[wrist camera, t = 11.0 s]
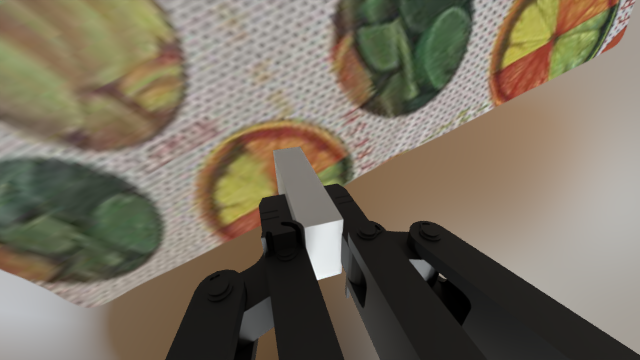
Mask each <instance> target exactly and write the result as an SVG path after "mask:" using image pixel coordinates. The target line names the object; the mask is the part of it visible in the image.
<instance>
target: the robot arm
mask: <svg viewBox="0 0 640 360" xmlns="http://www.w3.org/2000/svg"><path fill="white" fill-rule="evenodd" d="M273 154H274V161H275V169H276V176H277V184H278V191H279V195H276V196H270V197H265V198H262V200H261V202H260V204H259V211H260V218H261V226H262V236H261V240H262V245H263V250H264V252H263V255H262V257H261V258H260V260H259V261H258V262H257V263H256V264H254V265H253V266H251V267H250V268H248V269H246V270H245V271H243V272H241V273H238V272H236V271H235V270H222V271H217V272H215V273H213V274H211V275H209V276H208V277H206V278H205V279H204V280H203V281H202V282H201V283H200V284H199V286H198V287H197V289H196V290H195V292H194V294H193V297H192V299H191V302H190V304H189V306H188V308H187V310H186V313H185V315H184V317H183V320H182V322H181V324H180V327H179V329H178V331H177V334H176V336H175V338H174V341H173V343H172V345H171V347H170V350H169V352H168V354H167V357H166V359H165V360H255V358H256V351H257V345H258V338H259V337H260V336H262V335H263V334H264V333H266V332H267V331H269V330H270V329H271V328H273V327H275V334H276V342H277V349H278V356H279V360H344V357H343V354H342V351H341V349H340V346H339V343H338V340H337V337H336V334H335V331H334V328H333V325H332V322H331V319H330V316H329V313H328V310H327V308H326V304H325V302H324V299H323V296H322V293H321V290H320V287H319V284H318V281H317V280H319V279H322V278H326V277H330V276H333V275H337V274H341V268H342V265H343V268H344V270H345V272H346V288H345V294H346V298H349V292H350V293H351V296H352V298H353V300H354V302H355V305H356V307H357V309H358V311H359V313H360V316H361V318H362V320H363V322H364V324H365V327H366V329H367V331H368V333H369V336H370V338H371V340H372V342H373V345H374V347H375V349H376V351H377V354H378V356H379V358H380V360H640V355H639V354H637V353H636V352H634V351H633V350H631V349H630V348H628V347H627V346H625V345H623V344H622V343H620V342H619V341H617V340H616V339H614V338H613V337H611V336H610V335H608V334H607V333H605V332H603V331H602V330H600V329H599V328H597V327H596V326H594V325H593V324H591V323H589V322H588V321H587V320H585V319H583V318H582V317H580V316H579V315H577V314H576V313H574V312H573V311H571V310H570V309H568V308H567V307H565V306H563V305H562V304H560V303H559V302H557V301H556V300H554V299H553V298H551V297H550V296H548V295H546V294H545V293H543V292H542V291H540V290H539V289H537V288H535V287H534V286H533V285H531V284H530V283H528V282H526V281H525V280H523V279H522V278H520V277H519V276H517V275H516V274H514V273H513V272H511V271H510V270H508V269H507V268H505V267H503V266H502V265H500V264H499V263H497V262H496V261H494V260H493V259H491V258H490V257H488V256H486V255H485V254H483V253H482V252H480V251H479V250H477V249H476V248H474V247H473V246H471V245H469V244H468V243H466V242H465V241H463V240H462V239H460V238H459V237H457V236H456V235H454V234H453V233H451V232H450V231H448V230H446V229H445V228H443V227H442V226H440V225H438V224H436V223H432V222H428V221H418V222H415V223H413V224H412V225H411V226H410V230H409V232H393V231H386V230H385V229H384V228H383V227H382V226H381V225H380V224H378V223H376V222H373V221H369V220H368V219H367V217H366V216H365V215H364V213H363V212H362V211H361V209H360V208H359V206H358V205H357V204H356V203H355V202H354V200H353V198H352V197H351V196H350V194H349V193H348V191H347V190H346V189H345V188H344V187H342V186H340V185H339V184H332V185H327V186H323V185H322V183H321V181H320V180H319V178H318V176H317V175H316V173H315V171H314V170H313V168H312V166H311V164H310V163H309V161H308V159H307V158H306V156H305V154H304V153H303V151H302V149H301V148H300V147H294V148H287V149H279V150H273ZM439 273H440V274H442V275H443V276H444V277H445V278H446V279H443V278H442V277H440V276H439Z"/></svg>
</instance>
